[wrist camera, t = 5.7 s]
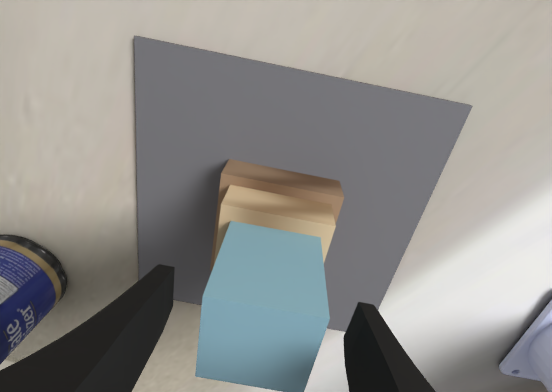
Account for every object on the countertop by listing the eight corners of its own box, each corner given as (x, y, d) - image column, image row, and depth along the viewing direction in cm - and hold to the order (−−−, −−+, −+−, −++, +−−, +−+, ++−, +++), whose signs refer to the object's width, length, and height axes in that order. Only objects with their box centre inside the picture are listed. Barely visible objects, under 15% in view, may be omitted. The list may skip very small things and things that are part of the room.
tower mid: (331, 204, 15) (335, 226, 13) (307, 281, 17) (309, 309, 16) (230, 184, 15) (221, 204, 13) (219, 265, 17) (210, 290, 16)
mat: (469, 104, 15) (472, 105, 15) (365, 331, 22) (366, 335, 22) (137, 36, 15) (134, 35, 14) (141, 290, 22) (139, 293, 21)
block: (320, 237, 14) (329, 318, 10) (301, 303, 16) (302, 395, 11) (230, 220, 14) (202, 296, 10) (222, 288, 15) (195, 376, 11)
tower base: (339, 180, 17) (344, 197, 15) (313, 267, 19) (314, 289, 18) (229, 158, 17) (221, 173, 15) (218, 248, 19) (209, 270, 18)
